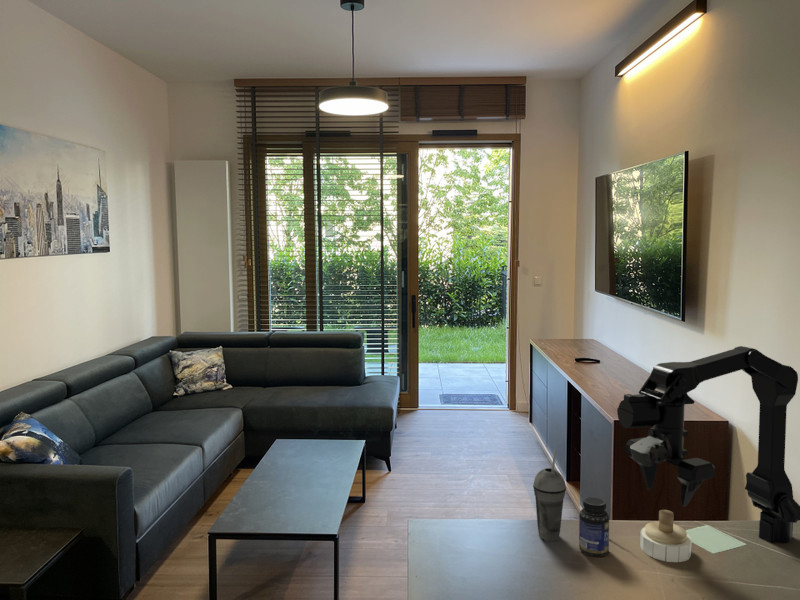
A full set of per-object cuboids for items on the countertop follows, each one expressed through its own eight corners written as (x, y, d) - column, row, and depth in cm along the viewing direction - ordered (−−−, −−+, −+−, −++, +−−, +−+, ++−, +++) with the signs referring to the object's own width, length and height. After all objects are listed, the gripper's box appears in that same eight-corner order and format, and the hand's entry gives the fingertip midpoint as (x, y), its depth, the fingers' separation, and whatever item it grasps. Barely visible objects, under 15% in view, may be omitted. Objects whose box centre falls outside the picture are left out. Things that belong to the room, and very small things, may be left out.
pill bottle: (610, 559, 124) (611, 508, 123) (580, 556, 125) (581, 505, 124) (606, 544, 130) (607, 496, 129) (577, 542, 131) (578, 494, 130)
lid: (665, 524, 131) (665, 502, 130) (695, 540, 123) (696, 517, 123) (636, 530, 128) (637, 508, 127) (666, 547, 120) (666, 524, 120)
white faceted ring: (664, 539, 132) (665, 522, 132) (700, 559, 123) (701, 541, 123) (630, 547, 128) (631, 529, 128) (665, 569, 120) (666, 550, 119)
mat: (707, 528, 137) (707, 524, 137) (746, 548, 128) (747, 544, 128) (674, 536, 133) (674, 532, 133) (713, 557, 124) (713, 553, 124)
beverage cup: (531, 528, 138) (531, 444, 136) (563, 529, 137) (564, 445, 135) (533, 543, 131) (534, 455, 129) (567, 545, 130) (568, 456, 128)
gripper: (606, 417, 129) (605, 487, 130) (675, 442, 112) (672, 522, 113) (646, 412, 133) (644, 479, 135) (718, 435, 116) (715, 512, 117)
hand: (666, 497), depth 125 cm, fingers open, 9 cm apart
